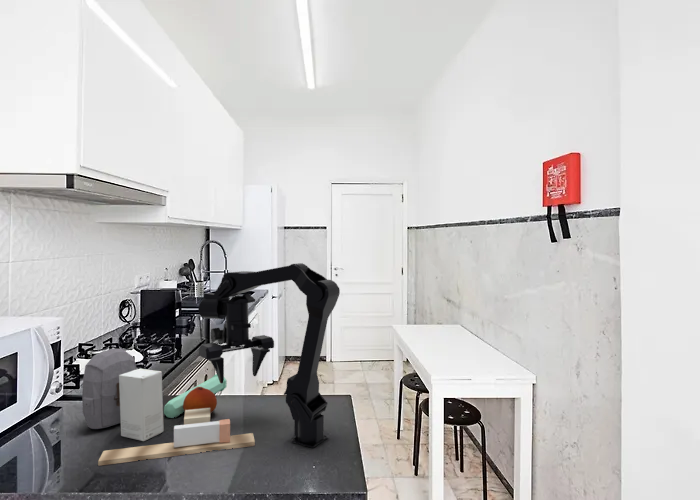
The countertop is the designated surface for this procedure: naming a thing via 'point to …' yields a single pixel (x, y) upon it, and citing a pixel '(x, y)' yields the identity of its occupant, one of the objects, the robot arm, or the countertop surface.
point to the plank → (171, 450)
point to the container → (176, 404)
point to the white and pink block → (202, 433)
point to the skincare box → (141, 404)
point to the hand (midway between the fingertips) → (238, 379)
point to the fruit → (200, 399)
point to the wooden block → (197, 416)
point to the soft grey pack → (104, 387)
